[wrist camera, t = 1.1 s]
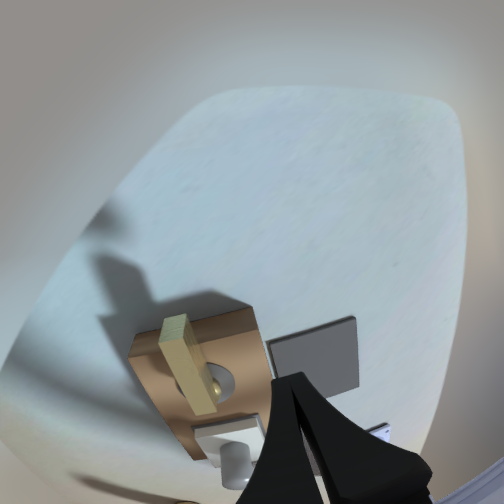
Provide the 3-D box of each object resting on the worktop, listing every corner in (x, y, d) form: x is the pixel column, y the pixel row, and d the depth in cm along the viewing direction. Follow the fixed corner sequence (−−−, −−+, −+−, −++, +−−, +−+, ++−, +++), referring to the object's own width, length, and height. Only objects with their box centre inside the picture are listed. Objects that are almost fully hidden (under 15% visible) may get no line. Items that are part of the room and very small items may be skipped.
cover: (268, 448, 23) (277, 489, 19) (214, 459, 23) (216, 499, 19) (256, 417, 21) (264, 462, 17) (194, 429, 21) (194, 474, 17)
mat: (358, 384, 26) (359, 386, 26) (286, 407, 26) (287, 409, 25) (354, 316, 23) (356, 318, 23) (269, 342, 23) (269, 345, 23)
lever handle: (224, 393, 20) (226, 420, 18) (197, 398, 20) (197, 425, 17) (191, 312, 18) (188, 336, 15) (159, 319, 18) (152, 344, 15)
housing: (284, 419, 26) (291, 444, 23) (194, 438, 26) (194, 463, 23) (252, 306, 22) (258, 330, 19) (135, 334, 21) (126, 360, 18)
